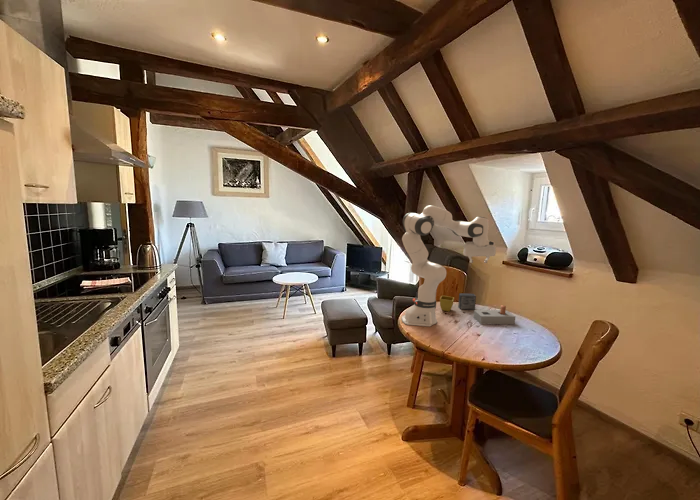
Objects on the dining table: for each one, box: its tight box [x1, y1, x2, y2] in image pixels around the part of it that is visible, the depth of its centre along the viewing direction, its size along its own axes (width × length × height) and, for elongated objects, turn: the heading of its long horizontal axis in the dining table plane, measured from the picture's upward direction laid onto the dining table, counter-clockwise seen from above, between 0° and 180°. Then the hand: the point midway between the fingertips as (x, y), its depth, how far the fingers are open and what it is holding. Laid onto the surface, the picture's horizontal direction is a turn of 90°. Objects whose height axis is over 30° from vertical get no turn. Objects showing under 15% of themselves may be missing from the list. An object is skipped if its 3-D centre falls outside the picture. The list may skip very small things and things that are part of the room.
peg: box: [499, 304, 507, 315], centre depth 205 cm, size 3×3×10 cm
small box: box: [458, 292, 477, 311], centre depth 227 cm, size 11×6×10 cm, turn 84°
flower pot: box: [439, 295, 455, 312], centre depth 223 cm, size 9×9×9 cm
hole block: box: [473, 309, 516, 325], centre depth 205 cm, size 22×11×5 cm, turn 91°
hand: (478, 262), depth 206 cm, fingers open, 8 cm apart
